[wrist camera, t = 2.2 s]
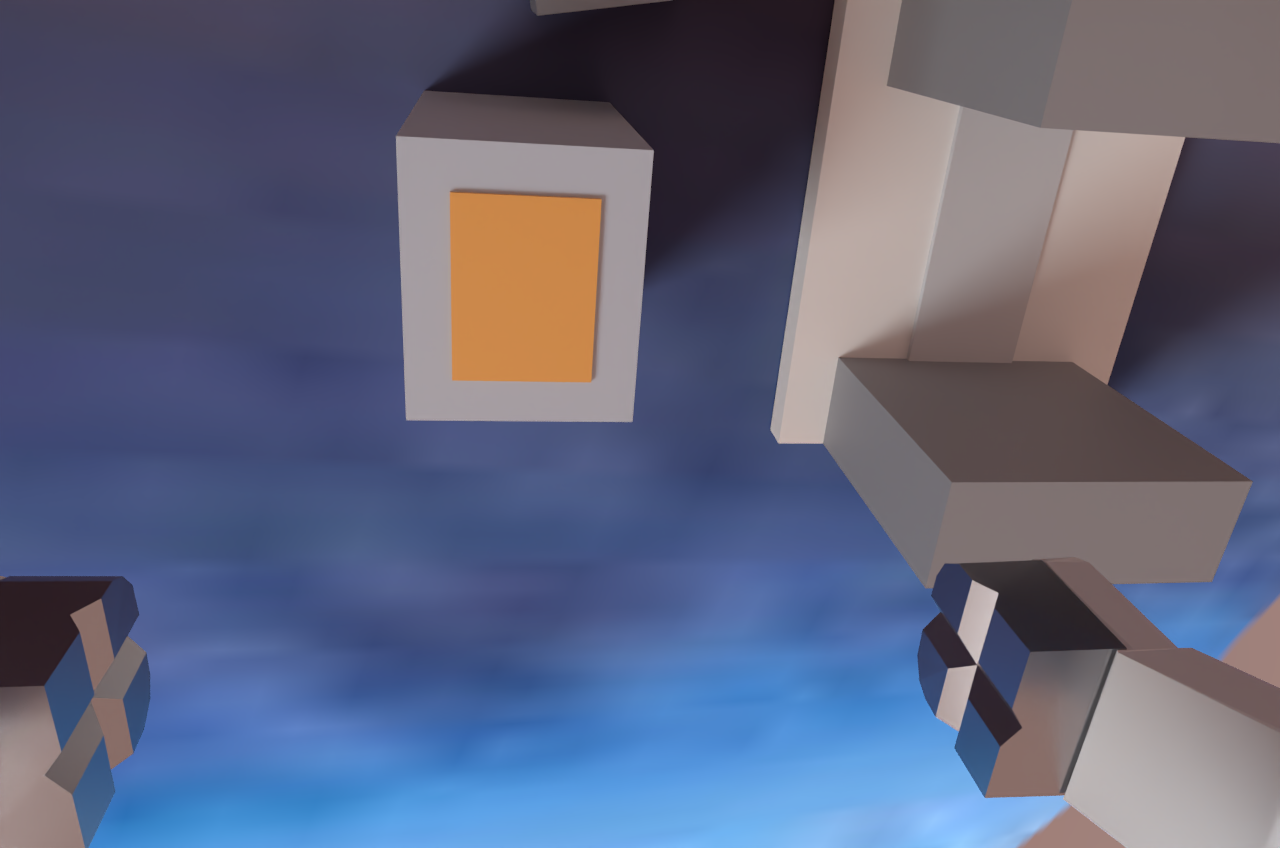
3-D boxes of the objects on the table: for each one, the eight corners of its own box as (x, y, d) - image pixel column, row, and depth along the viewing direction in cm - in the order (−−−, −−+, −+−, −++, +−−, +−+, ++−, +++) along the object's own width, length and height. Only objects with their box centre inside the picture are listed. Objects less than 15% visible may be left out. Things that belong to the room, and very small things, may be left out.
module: (424, 90, 25) (395, 137, 18) (609, 102, 26) (654, 151, 18) (429, 304, 27) (406, 422, 20) (597, 309, 28) (632, 424, 21)
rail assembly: (841, -41, 25) (1007, -49, 17) (1205, -7, 27) (1514, 0, 18) (770, 429, 31) (868, 589, 23) (1072, 431, 32) (1262, 580, 24)
